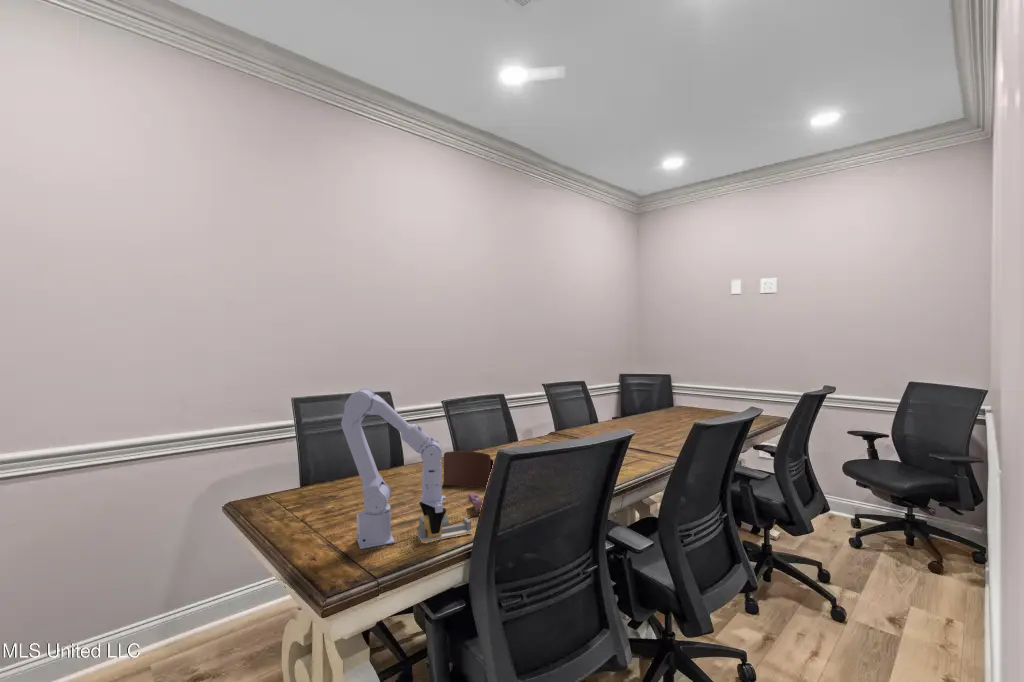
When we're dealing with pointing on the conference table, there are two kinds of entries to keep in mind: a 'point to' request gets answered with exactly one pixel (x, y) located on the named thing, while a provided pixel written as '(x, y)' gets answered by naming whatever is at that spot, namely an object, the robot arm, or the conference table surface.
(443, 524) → the lever base
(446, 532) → the rail
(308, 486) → the conference table surface
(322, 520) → the conference table surface
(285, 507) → the conference table surface
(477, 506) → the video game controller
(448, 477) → the letter holder
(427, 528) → the carriage
